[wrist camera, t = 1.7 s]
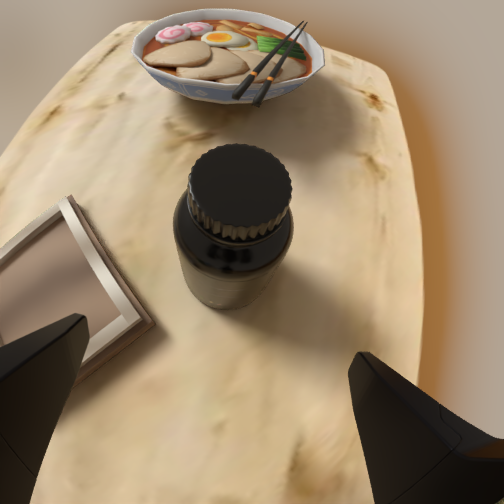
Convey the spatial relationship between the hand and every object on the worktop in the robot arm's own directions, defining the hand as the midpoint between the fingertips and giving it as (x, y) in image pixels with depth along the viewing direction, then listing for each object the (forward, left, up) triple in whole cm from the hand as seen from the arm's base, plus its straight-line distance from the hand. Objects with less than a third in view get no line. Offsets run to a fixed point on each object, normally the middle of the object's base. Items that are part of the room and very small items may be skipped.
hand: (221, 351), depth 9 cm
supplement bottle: (+5, -6, -13) cm, 15 cm away
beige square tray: (+12, +8, -13) cm, 20 cm away
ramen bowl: (+25, -22, -13) cm, 36 cm away
